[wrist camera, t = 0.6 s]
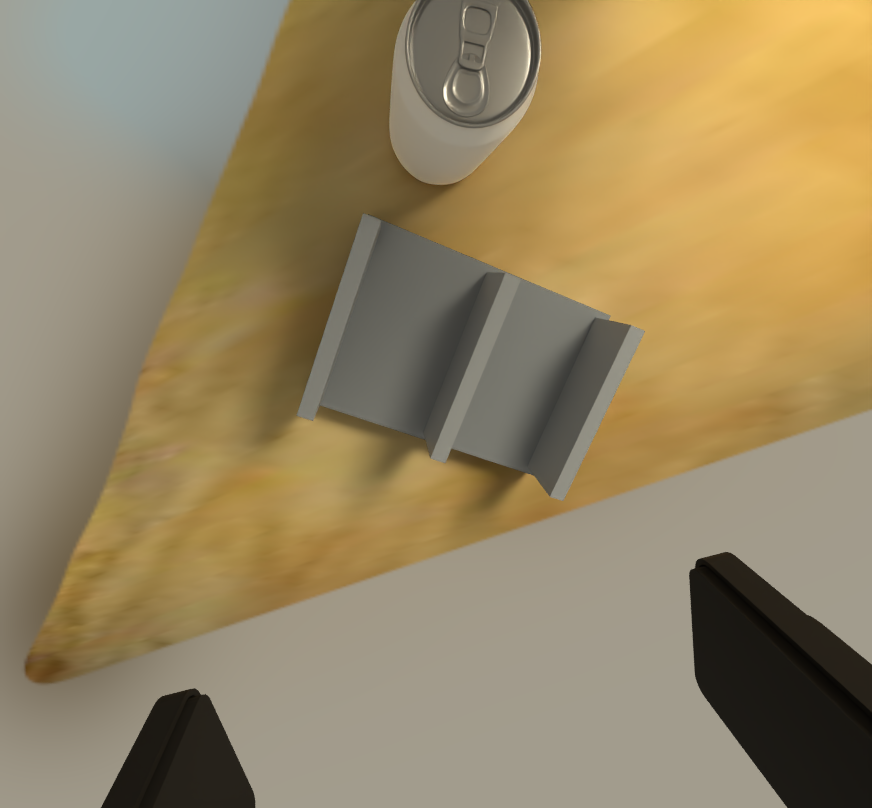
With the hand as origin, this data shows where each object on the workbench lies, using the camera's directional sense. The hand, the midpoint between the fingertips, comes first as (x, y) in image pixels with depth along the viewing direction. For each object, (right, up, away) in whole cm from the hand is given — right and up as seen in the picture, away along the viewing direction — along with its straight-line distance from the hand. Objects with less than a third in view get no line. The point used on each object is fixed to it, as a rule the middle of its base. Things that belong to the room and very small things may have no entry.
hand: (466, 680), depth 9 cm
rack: (+1, +9, +26) cm, 27 cm away
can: (0, +23, +22) cm, 32 cm away
